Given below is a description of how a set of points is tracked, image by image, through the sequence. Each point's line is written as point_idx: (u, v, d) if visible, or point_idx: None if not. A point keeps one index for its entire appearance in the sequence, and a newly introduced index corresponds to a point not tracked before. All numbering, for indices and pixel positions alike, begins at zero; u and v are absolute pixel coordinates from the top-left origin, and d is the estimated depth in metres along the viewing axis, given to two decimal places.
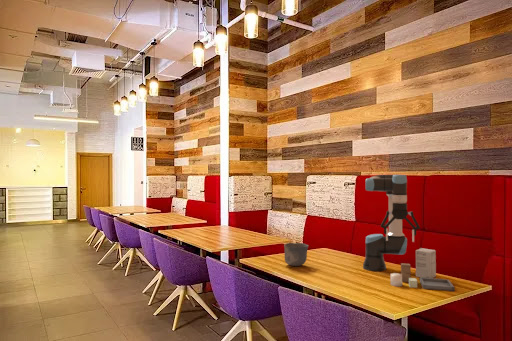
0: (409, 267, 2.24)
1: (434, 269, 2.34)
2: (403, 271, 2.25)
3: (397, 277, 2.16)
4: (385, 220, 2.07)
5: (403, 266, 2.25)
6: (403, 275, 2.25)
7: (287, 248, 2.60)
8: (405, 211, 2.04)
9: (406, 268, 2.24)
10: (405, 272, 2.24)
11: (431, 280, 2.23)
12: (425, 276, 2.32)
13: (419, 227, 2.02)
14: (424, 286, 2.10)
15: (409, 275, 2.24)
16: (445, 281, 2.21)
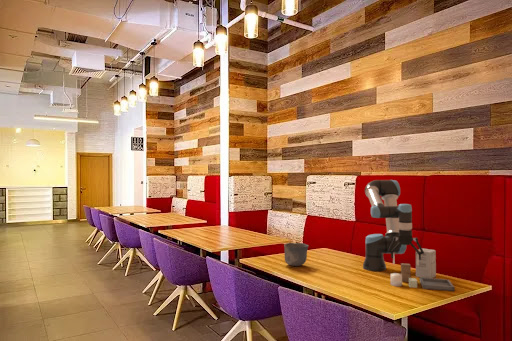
0: (409, 267, 2.24)
1: (434, 269, 2.34)
2: (403, 271, 2.25)
3: (397, 277, 2.16)
4: (392, 245, 2.28)
5: (403, 266, 2.25)
6: (403, 275, 2.25)
7: (287, 248, 2.60)
8: (410, 237, 2.25)
9: (406, 268, 2.24)
10: (405, 272, 2.24)
11: (431, 280, 2.23)
12: (425, 276, 2.32)
13: (423, 252, 2.22)
14: (424, 286, 2.10)
15: (409, 275, 2.24)
16: (445, 281, 2.21)
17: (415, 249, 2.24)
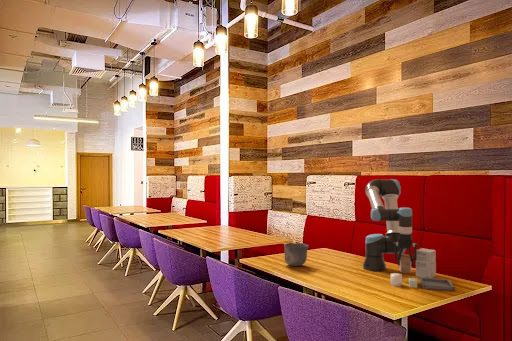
0: (409, 258, 2.24)
1: (434, 269, 2.34)
2: (403, 262, 2.25)
3: (397, 277, 2.16)
4: (396, 251, 2.27)
5: (403, 257, 2.25)
6: (403, 266, 2.25)
7: (287, 248, 2.60)
8: (411, 241, 2.25)
9: (406, 259, 2.25)
10: (405, 263, 2.25)
11: (431, 280, 2.23)
12: (425, 276, 2.32)
13: (416, 259, 2.24)
14: (424, 286, 2.10)
15: (408, 266, 2.24)
16: (445, 281, 2.21)
17: (410, 255, 2.25)
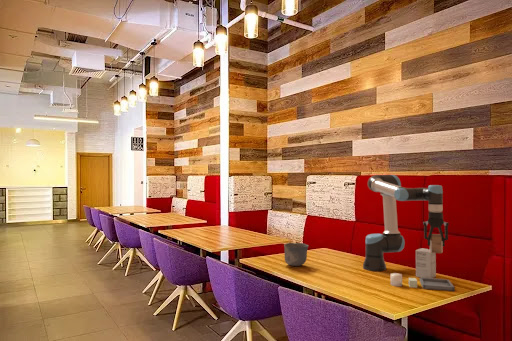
0: (440, 237, 2.13)
1: (434, 269, 2.34)
2: (433, 242, 2.14)
3: (397, 277, 2.16)
4: (426, 231, 2.17)
5: (433, 236, 2.14)
6: (433, 246, 2.14)
7: (287, 248, 2.60)
8: (442, 220, 2.14)
9: (437, 238, 2.14)
10: (436, 243, 2.14)
11: (431, 280, 2.23)
12: (425, 276, 2.32)
13: (447, 239, 2.13)
14: (424, 286, 2.10)
15: (440, 246, 2.13)
16: (445, 281, 2.21)
17: (441, 234, 2.14)
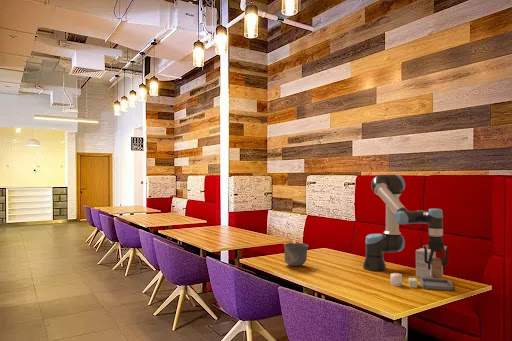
0: (440, 261, 2.13)
1: None
2: (434, 266, 2.14)
3: (397, 277, 2.16)
4: (426, 255, 2.17)
5: (434, 260, 2.14)
6: (434, 270, 2.14)
7: (287, 248, 2.60)
8: (442, 244, 2.14)
9: (437, 262, 2.14)
10: (436, 267, 2.14)
11: (431, 280, 2.23)
12: (425, 276, 2.32)
13: (447, 263, 2.13)
14: (424, 286, 2.10)
15: (440, 270, 2.13)
16: (445, 281, 2.21)
17: (441, 258, 2.14)
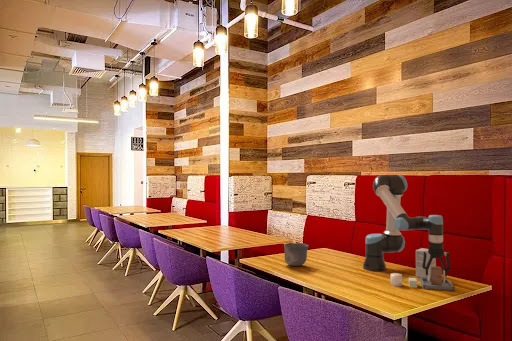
0: (440, 270, 2.13)
1: None
2: (434, 274, 2.14)
3: (397, 277, 2.16)
4: (425, 261, 2.17)
5: (434, 269, 2.14)
6: (434, 279, 2.14)
7: (287, 248, 2.60)
8: (442, 250, 2.14)
9: (437, 271, 2.14)
10: (436, 276, 2.14)
11: None
12: (425, 276, 2.32)
13: (450, 269, 2.13)
14: (424, 286, 2.10)
15: (440, 279, 2.13)
16: (445, 281, 2.21)
17: (443, 264, 2.14)
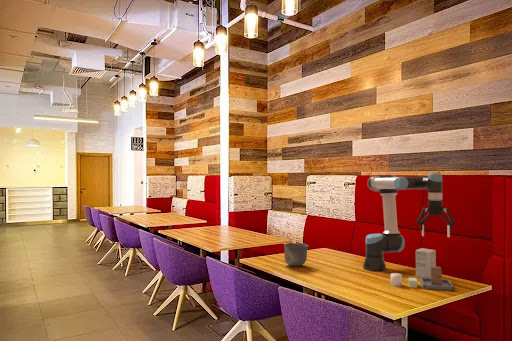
0: (440, 270, 2.13)
1: None
2: (434, 274, 2.14)
3: (397, 277, 2.16)
4: (421, 216, 2.18)
5: (434, 269, 2.14)
6: (434, 279, 2.14)
7: (287, 248, 2.60)
8: (441, 208, 2.15)
9: (437, 271, 2.14)
10: (436, 276, 2.14)
11: None
12: (425, 276, 2.32)
13: (454, 223, 2.12)
14: (424, 286, 2.10)
15: (440, 279, 2.13)
16: (445, 281, 2.21)
17: (446, 220, 2.14)
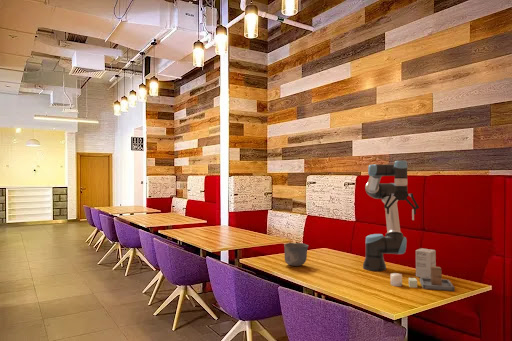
0: (440, 270, 2.13)
1: None
2: (434, 274, 2.14)
3: (397, 277, 2.16)
4: (388, 201, 2.33)
5: (434, 269, 2.14)
6: (434, 279, 2.14)
7: (287, 248, 2.60)
8: (406, 193, 2.30)
9: (437, 271, 2.14)
10: (436, 276, 2.14)
11: None
12: (425, 276, 2.32)
13: (418, 207, 2.27)
14: (424, 286, 2.10)
15: (440, 279, 2.13)
16: (445, 281, 2.21)
17: (410, 204, 2.29)
